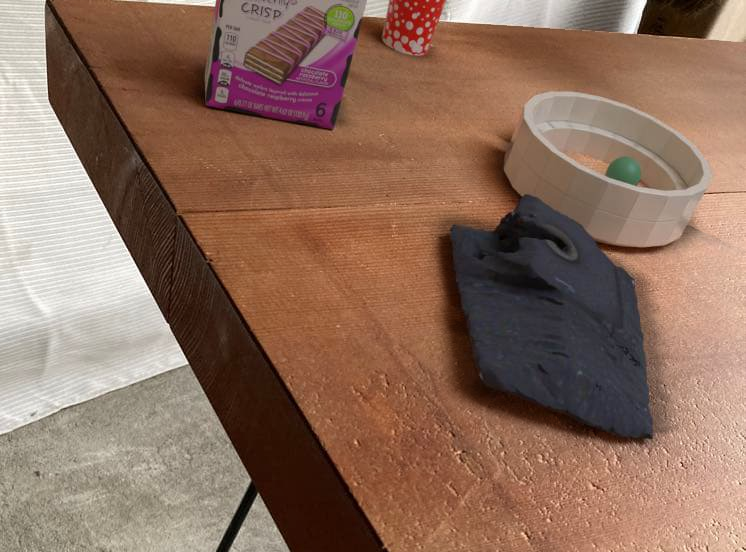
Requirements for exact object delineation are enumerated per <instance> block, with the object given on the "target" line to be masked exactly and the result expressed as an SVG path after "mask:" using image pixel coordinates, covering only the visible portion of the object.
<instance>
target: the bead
mask: <svg viewBox="0 0 746 552" xmlns="http://www.w3.org/2000/svg"><path fill="white" fill-rule="evenodd" d="M605 176H607V177H609V178H611V179H615V180H618V181H621V182H624V183H628V184H631V185H634V186H637V187H638V185H639V183H640V181H641V180H640V179H641V168H640V165H639V164H638V162H637V161H636V160H635V159H633V158H631V157H619V158H617V159H615V160H614V161H612V162H611V163H609V165H608V166H607V168H606V171H605Z"/></svg>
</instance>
